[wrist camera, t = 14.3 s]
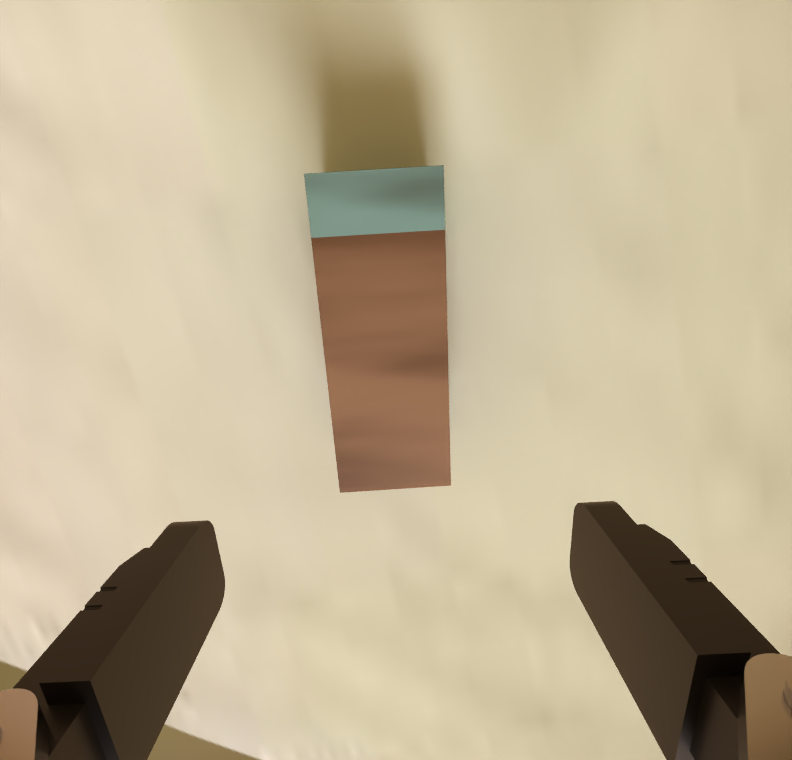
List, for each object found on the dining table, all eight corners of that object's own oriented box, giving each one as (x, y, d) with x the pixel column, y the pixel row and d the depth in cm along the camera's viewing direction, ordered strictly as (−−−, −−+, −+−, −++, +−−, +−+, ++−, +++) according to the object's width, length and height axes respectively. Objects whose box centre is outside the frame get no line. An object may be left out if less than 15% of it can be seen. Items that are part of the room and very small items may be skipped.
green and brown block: (349, 443, 22) (324, 193, 18) (437, 438, 22) (429, 186, 18) (339, 492, 17) (303, 173, 14) (450, 485, 17) (443, 165, 14)
